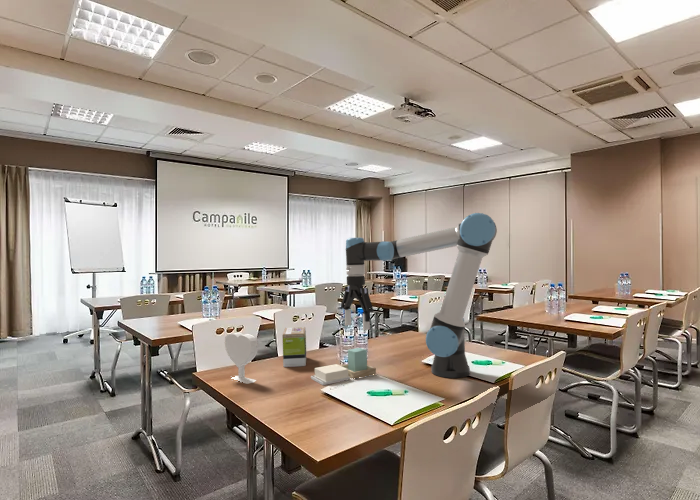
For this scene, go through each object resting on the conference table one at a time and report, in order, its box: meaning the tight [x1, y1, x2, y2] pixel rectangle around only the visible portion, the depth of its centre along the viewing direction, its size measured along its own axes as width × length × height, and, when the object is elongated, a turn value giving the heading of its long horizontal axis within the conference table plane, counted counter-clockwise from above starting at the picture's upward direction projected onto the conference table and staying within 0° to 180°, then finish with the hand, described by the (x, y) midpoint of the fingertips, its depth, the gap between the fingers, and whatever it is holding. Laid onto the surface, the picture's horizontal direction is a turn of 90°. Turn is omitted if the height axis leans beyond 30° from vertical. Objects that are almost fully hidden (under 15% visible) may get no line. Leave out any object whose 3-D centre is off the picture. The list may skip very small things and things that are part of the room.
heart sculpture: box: [224, 332, 259, 385], centre depth 159 cm, size 16×5×18 cm, turn 56°
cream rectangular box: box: [310, 363, 351, 386], centre depth 158 cm, size 10×12×4 cm
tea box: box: [282, 326, 307, 368], centre depth 183 cm, size 15×10×15 cm
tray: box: [341, 363, 377, 380], centre depth 164 cm, size 12×11×3 cm
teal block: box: [347, 347, 368, 372], centre depth 164 cm, size 5×6×9 cm
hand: (356, 327), depth 164 cm, fingers open, 13 cm apart
